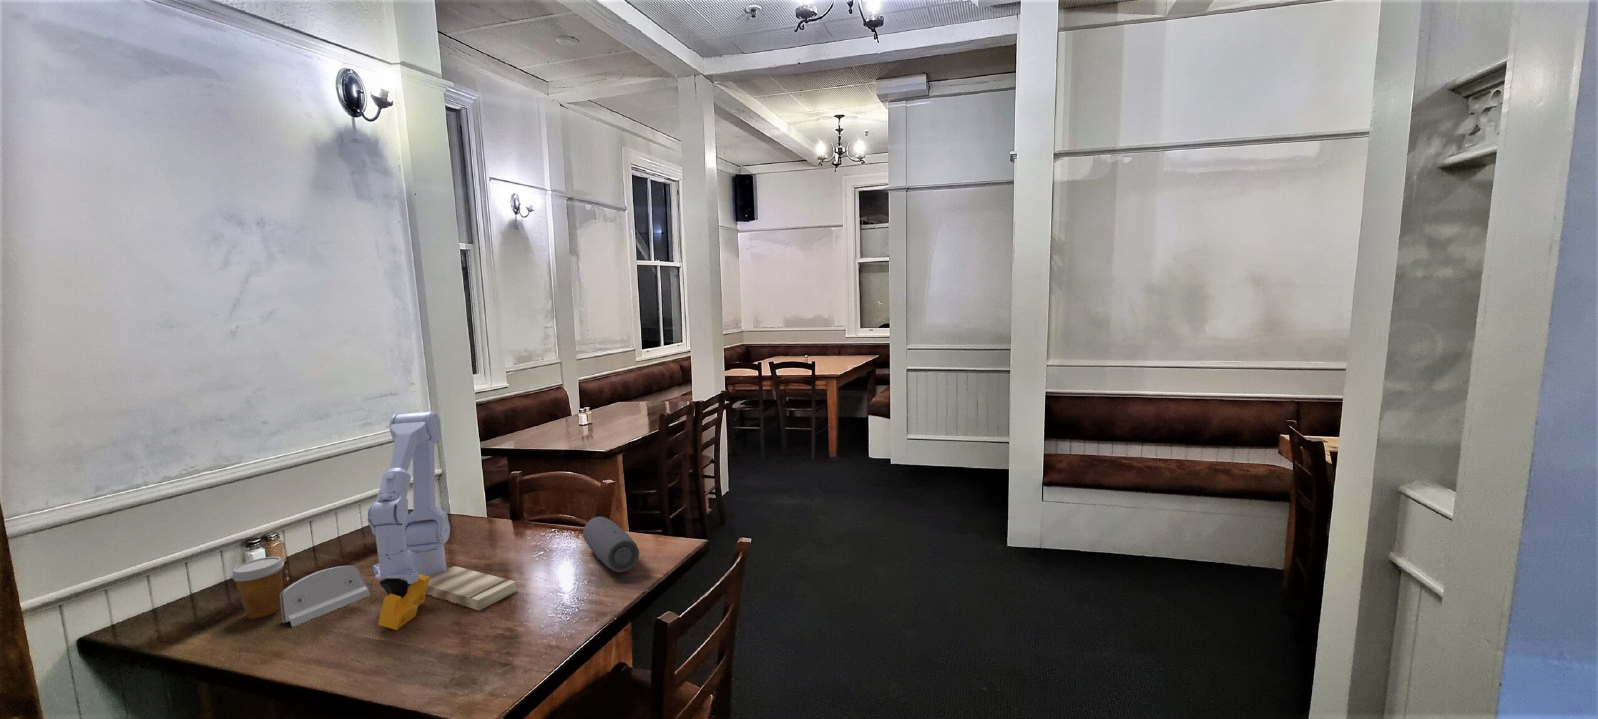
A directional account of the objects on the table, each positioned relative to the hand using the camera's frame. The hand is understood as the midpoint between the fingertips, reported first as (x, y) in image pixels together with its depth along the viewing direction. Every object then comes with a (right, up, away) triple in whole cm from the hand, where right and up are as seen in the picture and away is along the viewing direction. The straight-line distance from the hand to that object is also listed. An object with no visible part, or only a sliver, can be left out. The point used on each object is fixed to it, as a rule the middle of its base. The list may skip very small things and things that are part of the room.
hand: (399, 606), depth 144 cm
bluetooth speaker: (+43, +3, +23) cm, 48 cm away
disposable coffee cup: (-35, -3, +4) cm, 35 cm away
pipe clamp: (+3, -1, -2) cm, 3 cm away
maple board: (+11, 0, +9) cm, 14 cm away
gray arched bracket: (-21, -2, +5) cm, 22 cm away
